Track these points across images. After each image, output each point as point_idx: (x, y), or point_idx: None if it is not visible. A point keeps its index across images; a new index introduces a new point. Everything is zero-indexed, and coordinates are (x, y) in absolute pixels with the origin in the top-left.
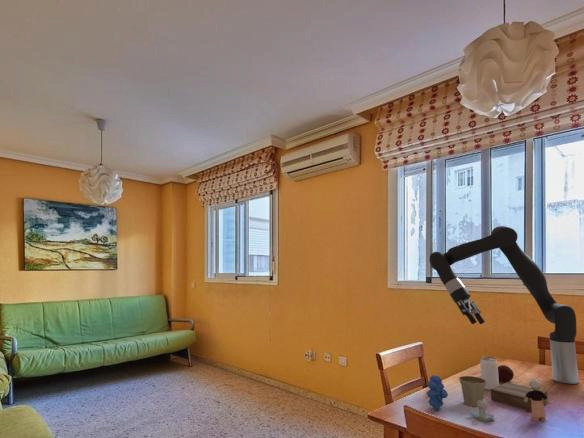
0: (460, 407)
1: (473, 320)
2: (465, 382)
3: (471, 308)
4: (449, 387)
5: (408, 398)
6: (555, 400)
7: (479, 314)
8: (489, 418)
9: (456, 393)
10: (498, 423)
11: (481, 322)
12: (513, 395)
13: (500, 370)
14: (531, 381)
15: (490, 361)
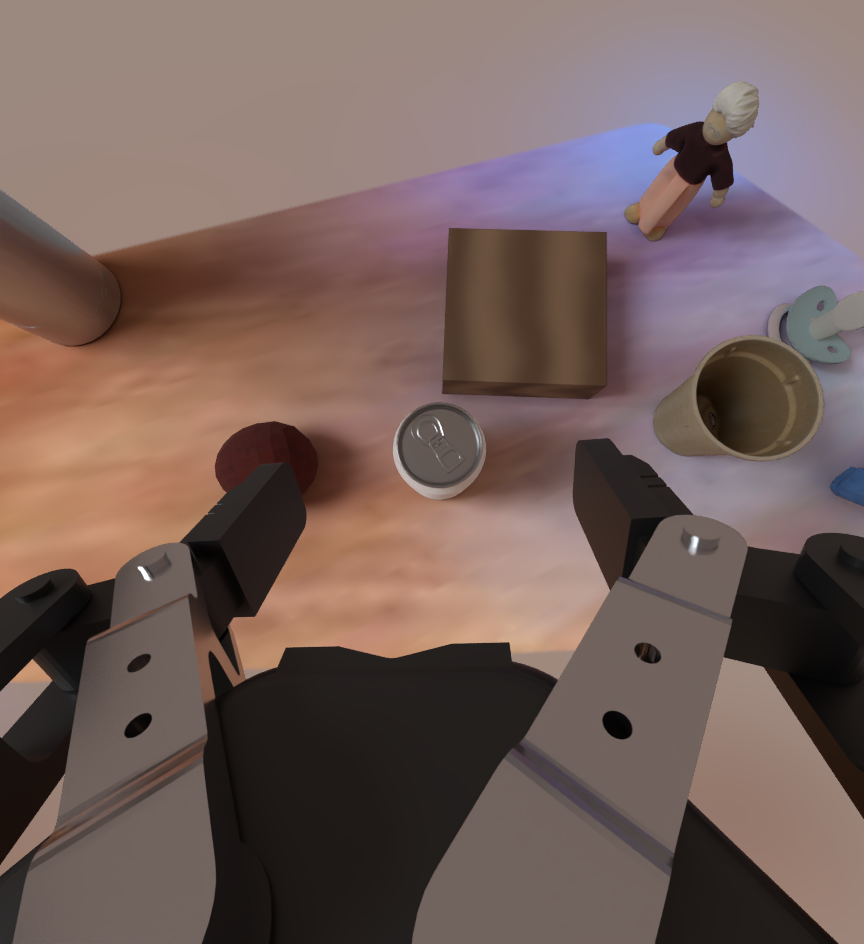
0: None
1: (645, 465)
2: (819, 402)
3: (416, 672)
4: (570, 589)
5: None
6: (395, 248)
7: (217, 540)
8: (833, 297)
9: None
10: (793, 288)
11: (294, 503)
12: (606, 295)
13: (298, 463)
14: (755, 108)
15: (472, 421)
